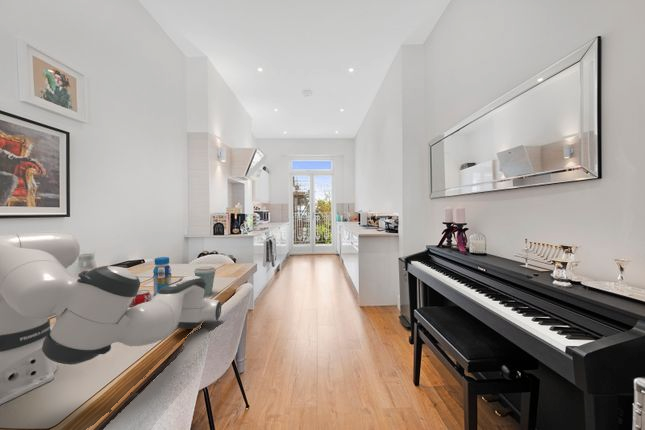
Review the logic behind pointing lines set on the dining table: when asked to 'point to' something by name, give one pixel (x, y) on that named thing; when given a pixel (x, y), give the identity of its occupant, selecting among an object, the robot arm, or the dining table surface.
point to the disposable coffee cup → (206, 277)
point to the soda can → (141, 297)
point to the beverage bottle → (161, 273)
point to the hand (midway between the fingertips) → (150, 308)
